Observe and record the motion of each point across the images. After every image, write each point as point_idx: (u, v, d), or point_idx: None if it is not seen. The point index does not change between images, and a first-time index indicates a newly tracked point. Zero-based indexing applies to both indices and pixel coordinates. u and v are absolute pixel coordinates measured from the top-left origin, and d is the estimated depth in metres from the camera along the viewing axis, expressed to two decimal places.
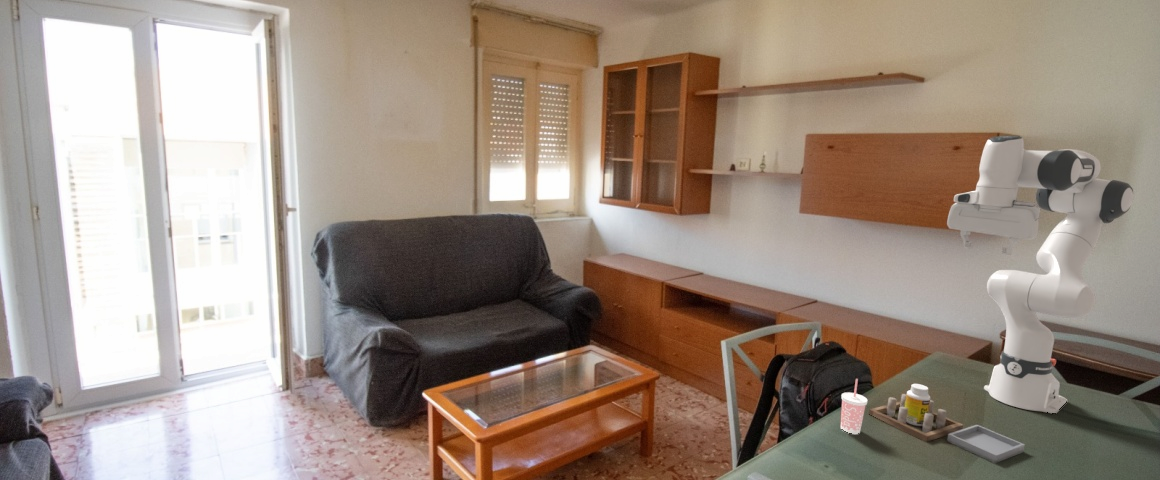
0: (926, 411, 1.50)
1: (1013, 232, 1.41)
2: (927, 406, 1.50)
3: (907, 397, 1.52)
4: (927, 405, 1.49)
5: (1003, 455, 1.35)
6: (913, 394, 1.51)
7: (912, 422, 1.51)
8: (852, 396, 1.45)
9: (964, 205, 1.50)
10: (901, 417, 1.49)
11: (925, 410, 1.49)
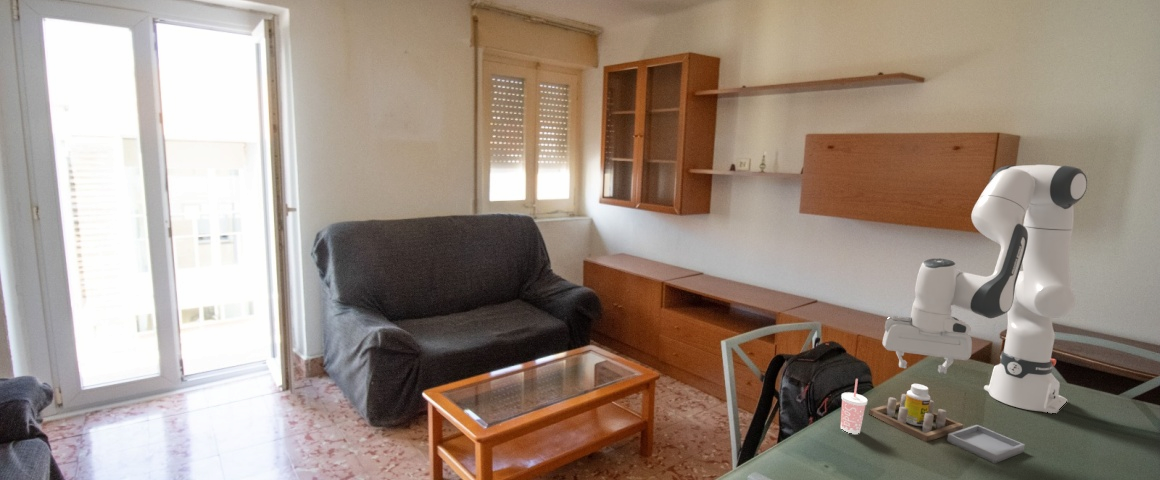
0: (926, 411, 1.50)
1: None
2: (927, 406, 1.50)
3: (907, 397, 1.52)
4: (927, 405, 1.49)
5: (1003, 455, 1.35)
6: (913, 394, 1.51)
7: (912, 422, 1.51)
8: (852, 396, 1.45)
9: None
10: (901, 417, 1.49)
11: (925, 410, 1.49)
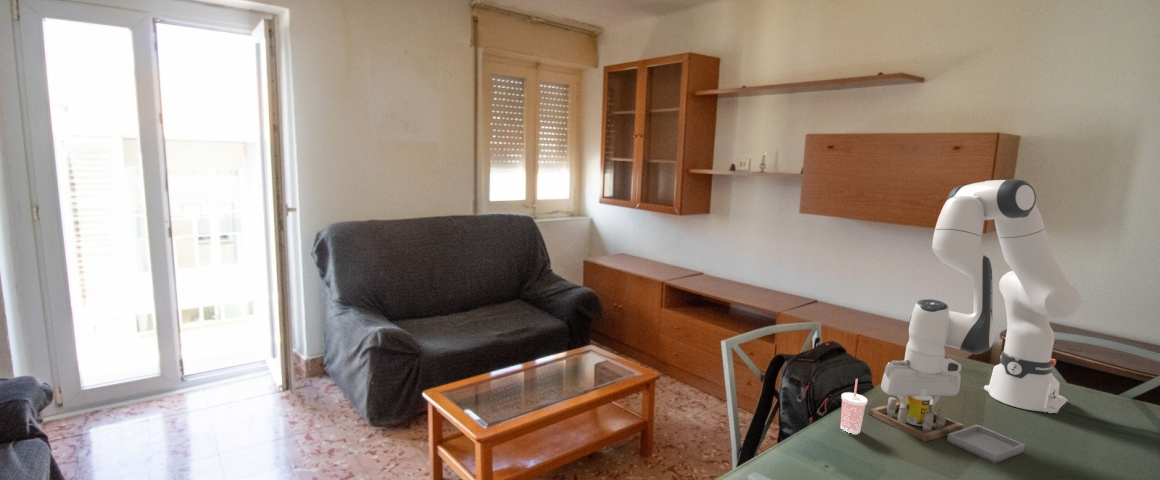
0: (926, 411, 1.50)
1: None
2: (927, 406, 1.49)
3: (907, 397, 1.52)
4: (927, 405, 1.49)
5: (1003, 455, 1.35)
6: None
7: (912, 422, 1.51)
8: (852, 396, 1.45)
9: None
10: (901, 417, 1.49)
11: (925, 410, 1.49)
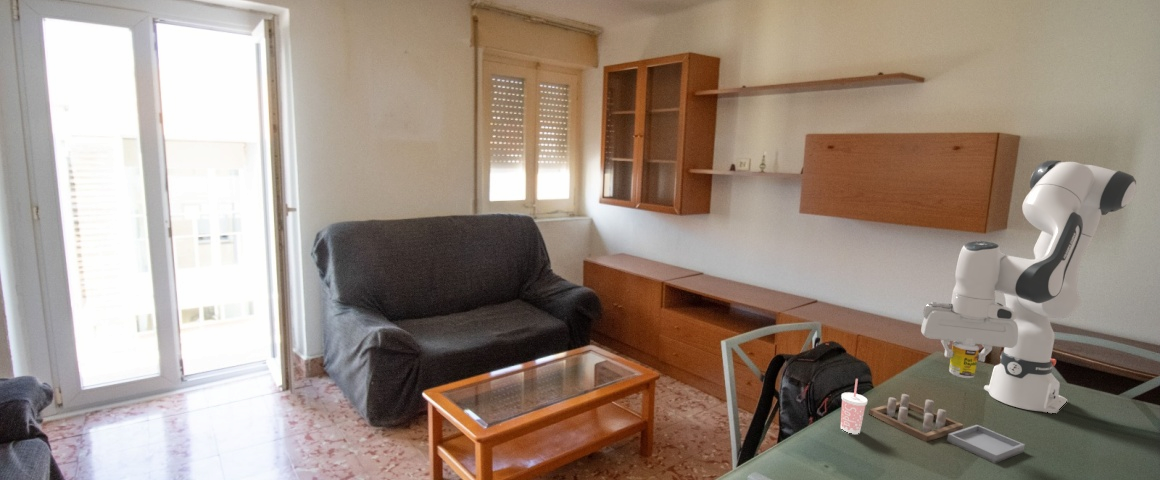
0: (971, 362, 1.41)
1: None
2: (972, 357, 1.40)
3: (952, 347, 1.44)
4: (972, 355, 1.40)
5: (1003, 455, 1.35)
6: (957, 343, 1.43)
7: (955, 373, 1.43)
8: (852, 396, 1.45)
9: None
10: (901, 417, 1.49)
11: (969, 361, 1.41)
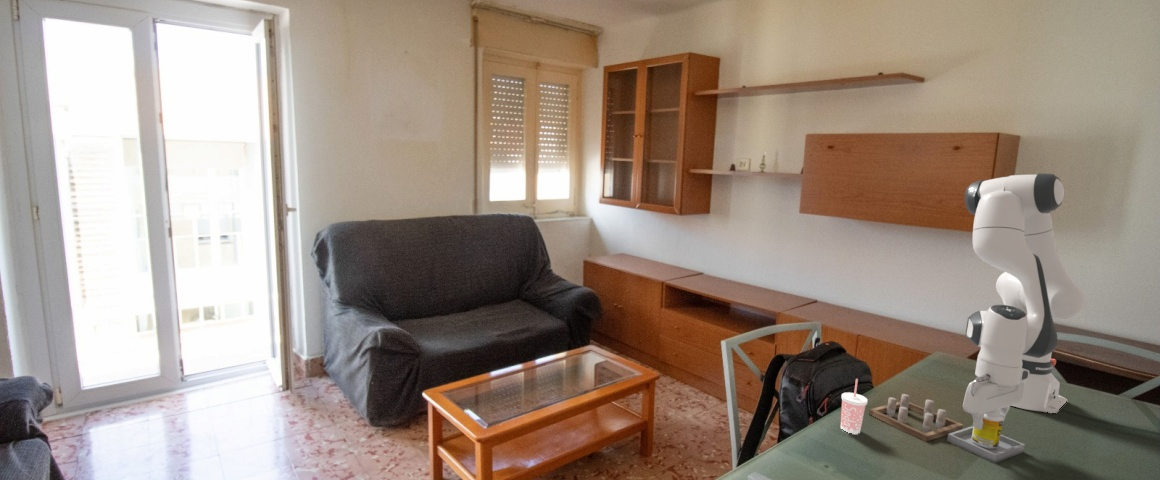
0: (1000, 432, 1.39)
1: None
2: (1001, 426, 1.38)
3: None
4: (1001, 425, 1.38)
5: (1003, 455, 1.35)
6: (988, 416, 1.38)
7: (988, 446, 1.38)
8: (852, 396, 1.45)
9: None
10: (901, 417, 1.49)
11: (1000, 431, 1.38)
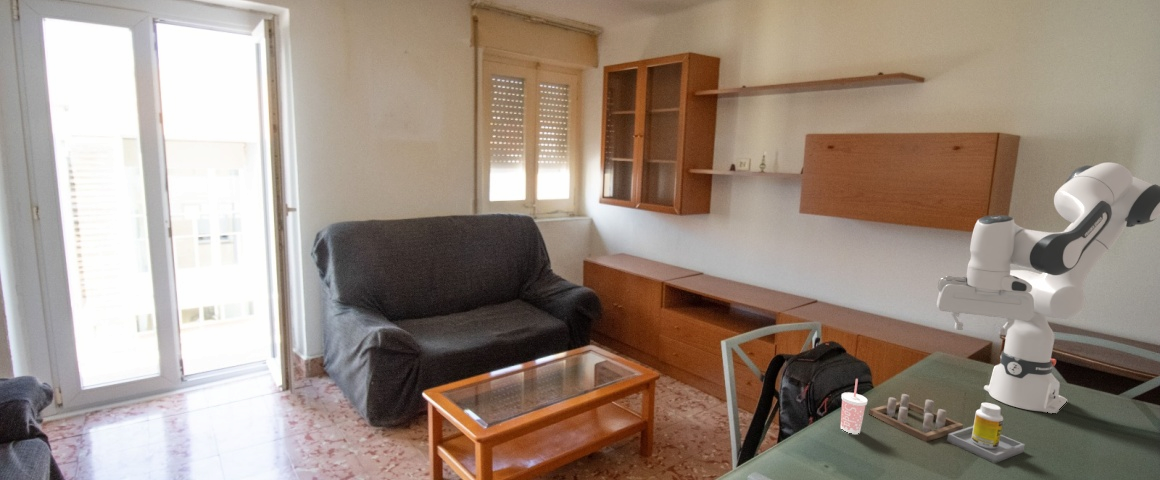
0: (1000, 432, 1.39)
1: None
2: (1001, 426, 1.38)
3: (980, 419, 1.39)
4: (1001, 425, 1.38)
5: (1003, 455, 1.35)
6: (988, 415, 1.38)
7: (988, 446, 1.38)
8: (852, 396, 1.45)
9: None
10: (901, 417, 1.49)
11: (1000, 431, 1.38)
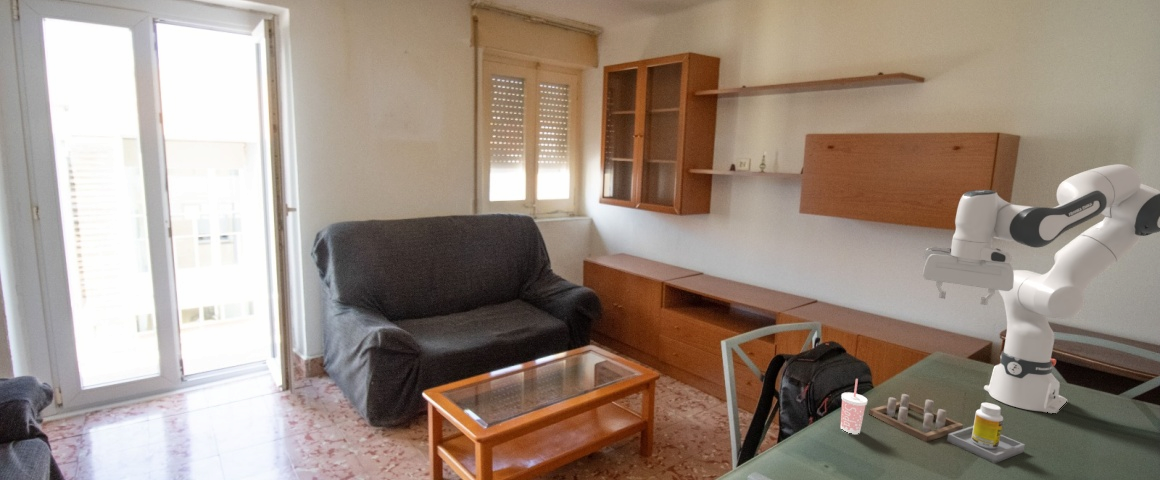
0: (1000, 432, 1.39)
1: None
2: (1001, 426, 1.38)
3: (980, 419, 1.39)
4: (1001, 425, 1.38)
5: (1003, 455, 1.35)
6: (988, 415, 1.38)
7: (988, 446, 1.38)
8: (852, 396, 1.45)
9: None
10: (901, 417, 1.49)
11: (1000, 431, 1.38)
